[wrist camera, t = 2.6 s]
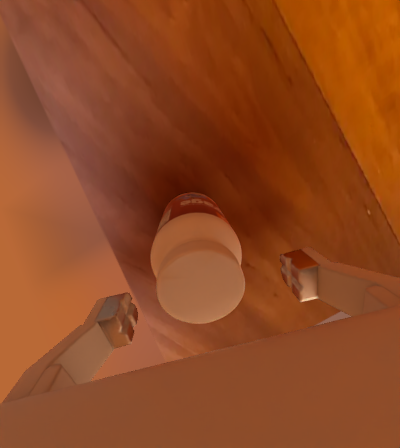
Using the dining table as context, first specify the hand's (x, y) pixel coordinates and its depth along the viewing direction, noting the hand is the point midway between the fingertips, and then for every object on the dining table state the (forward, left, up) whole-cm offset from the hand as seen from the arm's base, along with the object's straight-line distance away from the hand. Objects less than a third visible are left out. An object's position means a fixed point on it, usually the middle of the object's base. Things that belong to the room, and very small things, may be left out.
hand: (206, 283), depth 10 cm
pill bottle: (0, 0, -11) cm, 11 cm away
